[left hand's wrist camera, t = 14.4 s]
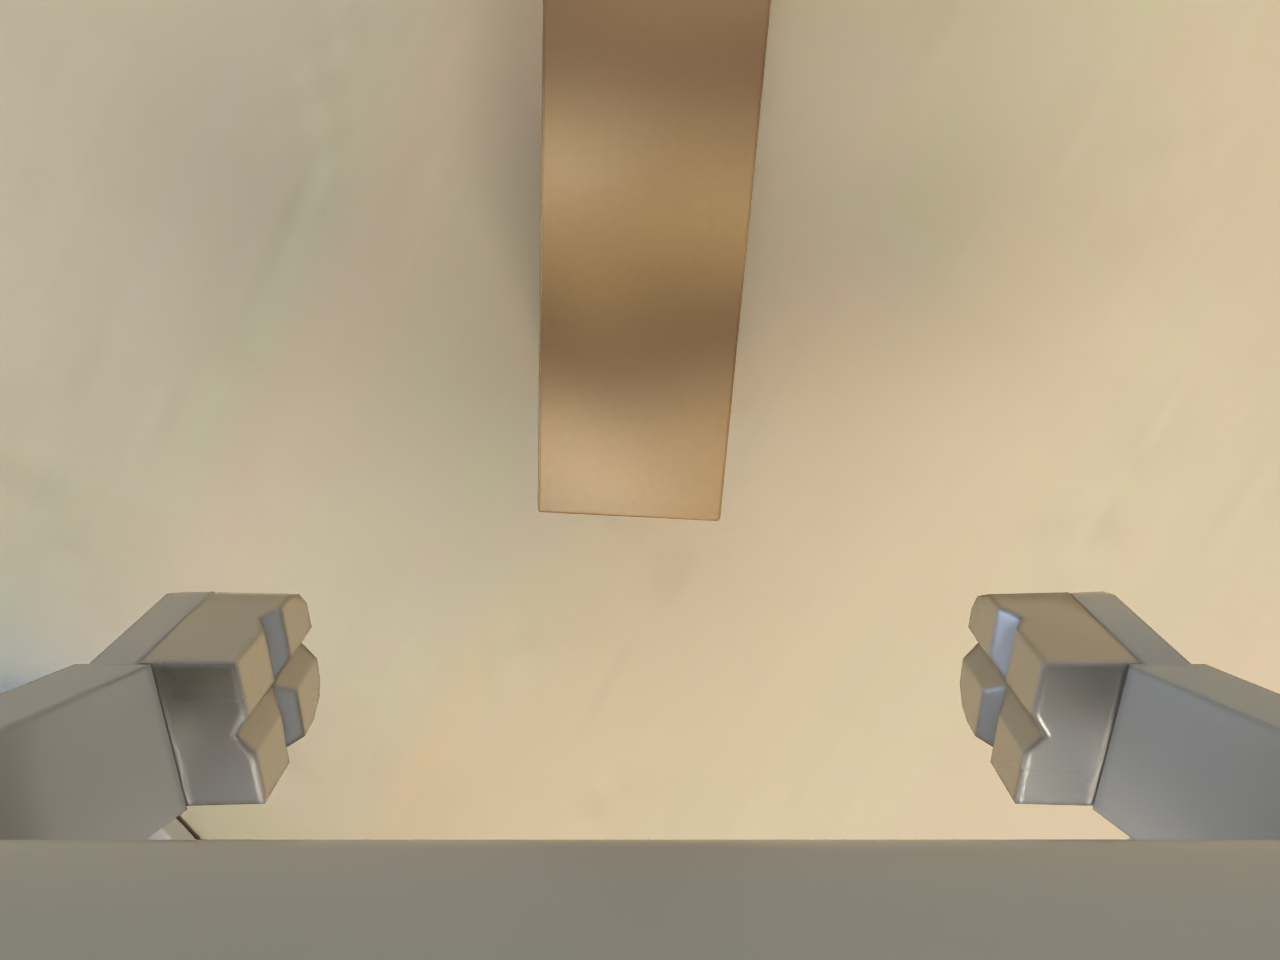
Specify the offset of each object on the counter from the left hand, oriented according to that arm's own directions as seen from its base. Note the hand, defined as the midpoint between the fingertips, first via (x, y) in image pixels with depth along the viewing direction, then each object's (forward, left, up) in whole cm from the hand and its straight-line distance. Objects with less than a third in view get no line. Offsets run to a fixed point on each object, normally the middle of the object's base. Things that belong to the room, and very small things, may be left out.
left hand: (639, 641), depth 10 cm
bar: (+6, -5, -23) cm, 24 cm away
